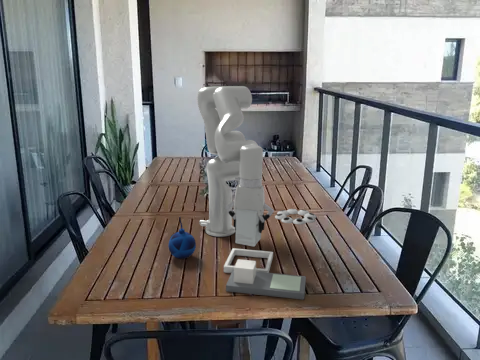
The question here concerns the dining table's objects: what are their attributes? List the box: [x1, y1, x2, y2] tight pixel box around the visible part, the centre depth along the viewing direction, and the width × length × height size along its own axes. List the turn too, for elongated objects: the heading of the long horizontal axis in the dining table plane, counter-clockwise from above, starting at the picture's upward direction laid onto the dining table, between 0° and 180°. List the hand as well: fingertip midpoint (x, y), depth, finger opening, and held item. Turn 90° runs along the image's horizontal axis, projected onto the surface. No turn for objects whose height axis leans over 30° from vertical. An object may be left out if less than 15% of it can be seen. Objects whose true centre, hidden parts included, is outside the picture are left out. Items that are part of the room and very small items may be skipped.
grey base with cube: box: [225, 258, 307, 300], centre depth 134 cm, size 24×11×7 cm, turn 79°
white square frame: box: [223, 247, 274, 274], centre depth 149 cm, size 15×15×2 cm
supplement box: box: [235, 209, 262, 247], centre depth 146 cm, size 7×7×13 cm
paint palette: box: [274, 208, 317, 225], centre depth 197 cm, size 20×20×2 cm
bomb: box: [167, 216, 197, 260], centre depth 153 cm, size 10×11×15 cm
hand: (248, 230), depth 147 cm, fingers closed on supplement box, 8 cm apart
